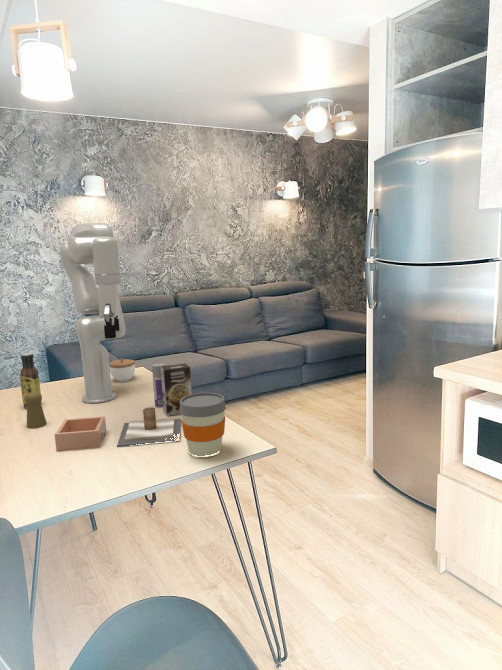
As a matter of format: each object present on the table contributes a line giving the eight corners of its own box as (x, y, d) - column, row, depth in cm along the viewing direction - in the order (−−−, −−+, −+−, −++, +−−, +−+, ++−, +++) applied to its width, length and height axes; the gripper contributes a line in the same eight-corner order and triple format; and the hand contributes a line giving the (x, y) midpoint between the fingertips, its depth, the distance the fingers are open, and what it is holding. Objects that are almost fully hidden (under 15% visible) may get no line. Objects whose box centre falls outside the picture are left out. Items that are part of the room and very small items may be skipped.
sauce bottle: (19, 408, 178) (12, 354, 174) (34, 402, 183) (27, 351, 179) (31, 410, 175) (24, 356, 171) (46, 405, 180) (39, 352, 176)
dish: (66, 434, 151) (64, 419, 150) (106, 431, 152) (104, 416, 151) (56, 451, 139) (54, 434, 138) (99, 447, 141) (98, 430, 140)
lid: (130, 424, 156) (128, 403, 155) (174, 420, 158) (172, 400, 156) (124, 442, 143) (122, 419, 141) (173, 437, 144) (171, 415, 143)
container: (170, 403, 176) (167, 363, 173) (164, 408, 172) (161, 366, 169) (159, 402, 178) (156, 362, 175) (152, 407, 173) (149, 366, 170)
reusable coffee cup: (228, 440, 142) (225, 391, 139) (227, 460, 130) (224, 406, 127) (185, 442, 142) (181, 393, 139) (179, 462, 129) (176, 408, 126)
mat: (124, 424, 158) (124, 422, 158) (180, 419, 160) (180, 418, 160) (117, 447, 140) (116, 445, 140) (180, 441, 143) (180, 440, 142)
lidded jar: (140, 376, 213) (138, 355, 212) (129, 383, 203) (127, 361, 201) (118, 375, 216) (116, 355, 214) (105, 382, 206) (103, 361, 204)
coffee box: (166, 416, 163) (163, 370, 160) (163, 410, 169) (159, 365, 166) (193, 412, 166) (190, 366, 163) (188, 406, 172) (185, 362, 169)
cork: (39, 428, 157) (34, 396, 155) (22, 428, 158) (18, 395, 156) (50, 422, 163) (46, 390, 160) (34, 421, 164) (30, 389, 162)
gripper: (99, 276, 156) (104, 329, 160) (90, 283, 139) (95, 341, 143) (123, 275, 157) (127, 327, 161) (117, 282, 140) (122, 340, 144)
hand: (112, 334), depth 152 cm, fingers open, 9 cm apart
